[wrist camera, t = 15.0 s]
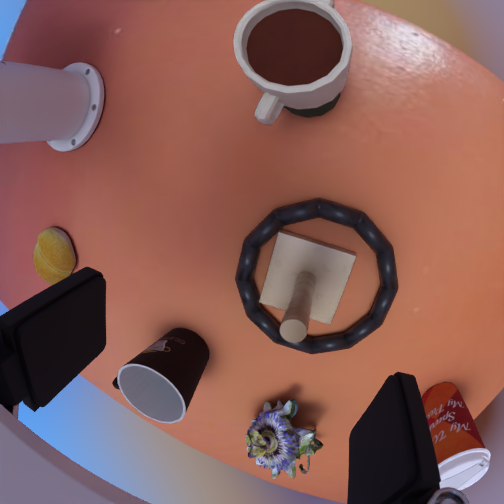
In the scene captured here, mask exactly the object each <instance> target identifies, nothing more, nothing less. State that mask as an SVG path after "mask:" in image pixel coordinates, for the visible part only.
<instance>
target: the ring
mask: <svg viewBox="0 0 504 504" xmlns="http://www.w3.org/2000/svg"><path fill="white" fill-rule="evenodd" d="M315 218H322V219H325V220H329V221H332V222H335V223H338V224H341V225H344V226H348V227H351V228H354V229H355V231H356V232H357V233H358V234H359V235H360V236H361V237H362V238H363V240H364V241H365V242H366V243H367V244H368V245H369V246H370V248H371V249H372V250H373V251H374V252H375V253H376V256H377V262H378V268H379V274H380V281H381V288H380V290H379V293H378V295H377V297H376V300H375V302H374V304H373V307H372V309H371V311H370V313H369V315H368V316H366V317H365V318H364V319H362V320H361V321H360V322H359V323H357V324H356V325H355V326H353V327H352V328H350V329H349V330H348V331H346V332H345V333H342V334H336V335H330V336H324V337H317V338H311V337H308V336H306V337H305V338H304V339H303V340H302V341H300V342H296V343H292V342H288V341H286V340H285V339H284V338H283V337H282V336H281V334H280V325H279V324H278V323H277V322H276V321H275V320H274V319H273V318H272V317H271V316H270V315H268V314H267V313H266V312H265V311H264V310H263V309H262V308H261V305H260V302H259V298H258V295H257V292H256V288H255V285H254V282H253V275H254V271H255V267H256V263H257V259H258V256H259V252H260V248H261V247H262V246H263V245H264V244H265V243H267V242H268V241H269V240H270V239H271V238H272V237H273V236H274V235H275V234H276V233H277V232H278V231H279V230H280V229H281V228H282V227H283V226H284V225H289V224H293V223H297V222H302V221H306V220H311V219H315ZM235 281H236V284H237V287H238V290H239V294H240V297H241V300H242V303H243V306H244V309H245V312H246V315H247V317H248V318H249V319H250V320H251V321H252V322H253V323H254V324H255V325H256V326H257V327H259V328H260V329H261V330H262V331H263V332H264V333H265V334H266V335H267V336H268V337H269V338H270V339H271V340H272V341H273V342H274V343H277V344H280V345H283V346H286V347H289V348H293V349H296V350H299V351H302V352H306V353H309V354H317V353H324V352H331V351H337V350H343V349H349V348H351V347H353V346H354V345H355V344H357V343H358V342H360V341H361V340H362V339H364V338H365V337H367V336H368V335H369V334H371V333H372V332H373V331H375V330H376V329H377V328H379V327H380V326H381V325H382V324H383V322H384V320H385V318H386V315H387V313H388V311H389V309H390V307H391V304H392V302H393V300H394V298H395V295H396V293H397V291H398V279H397V271H396V264H395V257H394V250H393V246H392V244H391V243H390V242H389V241H388V240H387V238H386V237H385V236H384V235H383V234H382V232H381V231H380V230H379V229H378V228H377V227H376V225H375V224H374V223H373V222H372V221H371V220H370V219H369V217H368V216H367V215H366V214H365V213H364V212H362V211H359V210H356V209H353V208H350V207H347V206H344V205H340V204H337V203H334V202H331V201H328V200H324V199H321V198H318V199H313V200H309V201H305V202H301V203H296V204H292V205H288V206H284V207H280V208H276V209H274V210H273V211H272V212H271V213H270V214H269V215H268V216H267V217H266V218H265V219H264V220H263V221H262V222H261V223H260V224H259V225H258V226H257V227H256V228H255V229H254V230H253V231H252V232H251V233H250V234H249V235H248V236H247V237H246V238H245V240H244V242H243V247H242V251H241V255H240V259H239V263H238V268H237V272H236V276H235Z"/></svg>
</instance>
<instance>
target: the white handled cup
mask: <svg viewBox="0 0 504 504" xmlns="http://www.w3.org/2000/svg"><path fill="white" fill-rule="evenodd" d="M233 44H234V49H235V55H236V59H237V61H238V63H239V64H240V66H241V68H242V69H243V71H244V72H245V74H246V75H247V77H248V78H249V79H250V80H251V81H252V82H253V83H254V84H255V85H256V86H257V87H258V88H259V89H260V90H261V91H262V92H263V93H264V94H263V96H262V98H261V100H260V102H259V104H258V105H257V108H256V110H255V118H256V119H257V120H258V121H259V122H261V123H262V124H264V125H272V124H273V123H274V122H275V121H276V120H277V118H278V116H279V114H280V112H281V110H282V109H283V107H285V108H286V109H288V110H289V111H290V112H291V113H293V114H297V115H300V116H304V117H312V116H319V115H323V114H324V113H326V112H327V111H329V110H330V109H332V108H333V107H334V106H335V104H336V102H337V100H338V98H339V97H340V91H341V90H342V89H343V88H344V86H345V83H346V79H347V75H348V72H349V67H350V61H351V55H352V49H353V46H352V41H351V37H350V32H349V28H348V25H347V24H346V23H345V21H344V20H343V19H342V17H341V16H340V15H339V14H338V12H337V11H336V10H335V8H334V0H266V1H264V2H262V3H259V4H257V5H255V6H254V7H253V8H252V9H250V10H249V11H248V12H247V13H246V14H245V15H244V16H243V17H242V19H241V20H240V21H239V23H238V25H237V28H236V30H235V35H234V40H233Z"/></svg>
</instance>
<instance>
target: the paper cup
mask: <svg viewBox="0 0 504 504" xmlns="http://www.w3.org/2000/svg"><path fill="white" fill-rule="evenodd" d="M422 402H423V406H424V409H425V413H426V417H427V421H428V424H429V428H430V432H431V436H432V441H433V445H434V449H435V454H436V458H437V463H438V468H439V473H440V478H441V482H440V483H439V484H440V489H441V488H445V487H451V488H455V489H457V490H462V489H464V488H466V487H468V486H470V485H472V484H473V483H475V482H476V481H478V480H479V479H480V478H481V477H482V476H483V475H484V474H485V473H486V472H487V470H488V467H489V460H490V455H491V454H490V452H489V450H487V449H485V446H484V444H483V442H482V439H481V437H480V435H479V432H478V430H477V427H476V425H475V423H474V420H473V418H472V416H471V414H470V412H469V410H468V408H467V406H466V404H465V402H464V400H463V398H462V396H461V394H460V392H459V390H458V389H457V387H456V386H455V385H454V384H452V383H447V382H446V383H440V384H437V385H435V386H433V387H431V388H430V389H429V390H428V391H427V392H426V393H425V394H424V395H423V397H422Z"/></svg>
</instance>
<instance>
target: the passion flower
mask: <svg viewBox="0 0 504 504" xmlns="http://www.w3.org/2000/svg"><path fill="white" fill-rule="evenodd" d="M297 410H298V403H297V402H296V400H294V399H292V400H288V402H287V403H286V404H285V403H284V402H283V401H282V400H281V399H279V400H278V402H277V406H276V407H275V406H274V405H273V404H272V403H270V402H266V403H265V404H264V407H263V412H261V413H260V415H259V417H258V418H256V419H253V420H252V421H251V424H252V426H251V427H250V428H249V429H248V433H247V434H246V435H247V436H246V443H247V451H249V453H248V457H249V458H252V457H253V458H254V457H257V458H256V464H257V465H265V466H264V468H267V467H269V466H270V468H269V469H272V471H273V472H272V477H271V478H273V479H274V478H276V477H277V476H278V475H279V474H280V469H281V470H282V469H284V471H285V472H287V473H288V476H289V477H292V478H295V471H296V468H295V459H297V458H298V459H300V455H302V454H305V455H308V470H307V471H306V470H305V469H303V465H302V464H300V466H299V468H300V470H301V472H302V474H303V473H304V474H306V473H307V472H308V471H309V465H310V458H309V456H310V455H313V454H315V452H316V451H317V450H319V449H321V448H322V447H323V444H322V443H321V442H320V441H319V440H317V439H316V438H315V434H316V428H315V430H310V429H305V428H294V427H292V426H291V424H290V421H291V418H292V417H293V415H295V414H296V412H297ZM312 441H314V442H315V443H314V444H313V445H311V442H312ZM260 467H261V466H260Z"/></svg>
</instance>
